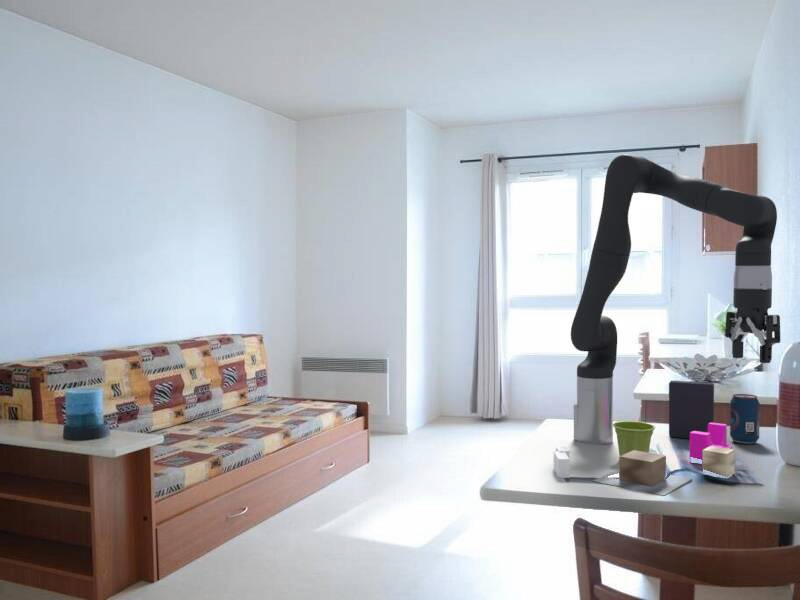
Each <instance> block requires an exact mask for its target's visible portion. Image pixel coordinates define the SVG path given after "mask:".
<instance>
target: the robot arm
mask: <svg viewBox="0 0 800 600" xmlns="http://www.w3.org/2000/svg"><path fill="white" fill-rule="evenodd" d="M638 193H639V194H641V193H642V194H650V195H657V196H663V197H664V198H667V199H670V200H672V201H675V202H677V203H679V204H680V205H682V206H684V207H686V208H689V209H691V210H695V211H698V212H701V213H704V214H707V215H709V216H715V217H718V218H720V219H722V220H724V221H726V222H729V223H732V224H733V225H738V226H741V227H743V230H742V236H741V237H742V238H741V239H740V240H738V241H737V243H736V246H735V255H734V256H735V260H734V261H735V263H734V266H735V267H734V274H733V296H732V297H733V300H732V306H733V307H734V309H737V310H736V311H727V312H726V314H725V315H726V316H725V317H726V319H725V334H724V335H725V337H726V338H729V339H730V341H731V344H732V345H731V346H732V347H731V349H732V351H731V353H732V358H734V359H742V358H744V339H745V337H746V336H747V335H749V334H753V335H754V337H756V338H757V339H758V341H759V344H760V345H759V363H762V364H770V363H771V361H772V357H773V354H772V353H773V346H774V345H775V344H780V343H781V317H780V314H769V313H768V311H769V309H771V308H772V300H773V274H772V243H773V239H774V236H775V231H776V227H777V221H778V213H777V211H778V210H777V206H776V203H775V202H774V201H773V200H772V199H771V198H769V197H768V196H763V195H756V194H752V193H747V192H744V191H739V190H737V189H732V188H731V187H728V186H726V185H723V184H721V183H716V182H713V181H709V180H706V179H703V178H698V177H694V176H689V175H686V174H682V173H678V172H675V171H672V170H670V169H667V168H666V167H663V166H661V165H659V164H657V163H655V162H654V161H652V160H650V159H648V158H646V157H643V156H641V155H634V154H633V155H632V154H625V153H624V154H620V155H618V156H616V157H614V159H612V161H611V162H610V164H609V166H608V168H607V171H606V175H605V182H604V189H603V196H602V197H603V198H602V204H601V205H602V206H601V211H600V216H599V220H598V226H597V229H596V230H597V231H596V233H595V234H596V235H595V240H594V243H593V245H592V250H591V255H590V260H589V263H588V264H589V265H588V271H587V274H586V277H585V282H584V285H583V291H582V294H581V297H580V300H579V302H578V305H577V308H576V312H575V315H574V317H573V320H572V322H571V323H572V324H571V328H570V340H571V344H572V346H573V347H574V348H575V349H576V350H578V351H580V352H587V354H586V357H585V359H584V360H583V361H581V362H580V363H579V364H578V365H577V367H576V403H574V404H573V441H577V442H580V443H584V444H587V445H588V444H589V445H609V444H611V443H613V439H614V438H613V437H614V436H613V435H614V429H613V428H614V426H613V424H614V411H613V410H614V385H613V384H614V369H615V367H616V364H617V355H618V354H617V352H618V330H617V326H616V324H615V322H614V321H613V319H611V317H609V316H606V315H603V311H604V308H605V305H606V303H607V301H608V299H609V297H610V296H611V295H612V293H613V291H614V290H615V289H616V288H617V286H618V284H619V283H620V282H621V281H622V279H623V277H624V275H625V273H626V270H627V267H628V265H629V264H628V263H629V259H630V255H631V251H632V250H631V249H632V239H631V238H632V237H631V236H632V235H631V231H630V225H629V211H630V206H631V203H632V199H633V195H634V194H638ZM773 335H774V337H773Z"/></svg>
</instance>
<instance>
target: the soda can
mask: <svg viewBox="0 0 800 600" xmlns="http://www.w3.org/2000/svg"><path fill="white" fill-rule="evenodd" d="M729 405H730V409H729V411H730V412H729V415H730V417H729V418H730V419H729V422H730V423H729V437H731V440H732V441H734V442H736V443H740V444H755V443H757V442H758V440H759V439H760V410H761V409H760V401H759V400H758V396H757V395H754V394H747V393H736V394H732V398H731V400H730V404H729Z"/></svg>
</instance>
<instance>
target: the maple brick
mask: <svg viewBox="0 0 800 600" xmlns="http://www.w3.org/2000/svg"><path fill="white" fill-rule="evenodd" d="M701 466H702V469H704V470H707V471H710V472H713V473H716V474H719V475H722V476H725V477H728V476H730V475H732V474H734V475H735V449H733V448H732V449H728V448H721V447H714V446H709V447H708V448H706V449H704V450H703V457H702V465H701Z"/></svg>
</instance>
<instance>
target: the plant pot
mask: <svg viewBox="0 0 800 600" xmlns="http://www.w3.org/2000/svg"><path fill="white" fill-rule="evenodd" d="M613 428H614V431H615V434H616V440H617V447H618V455H619V456H622V455H624V454H626V453H628V452H631V451H633V450H636V451H642V452H648V453H650V446H651V440H652V435H653V433H654V430H655V429H656V427H655V425H653V424H651V423H647V422H643V421H632V420H631V421H626V420H625V421H617V422H613Z"/></svg>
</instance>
